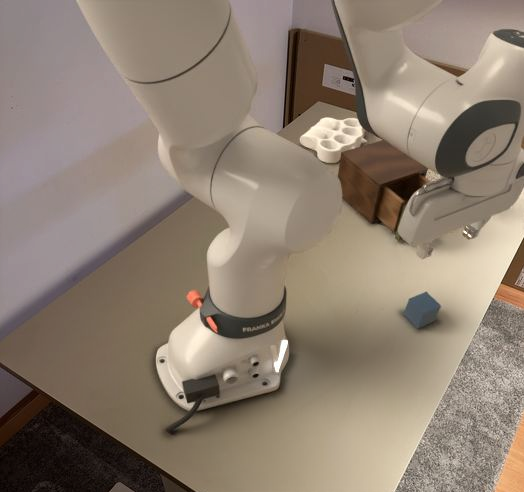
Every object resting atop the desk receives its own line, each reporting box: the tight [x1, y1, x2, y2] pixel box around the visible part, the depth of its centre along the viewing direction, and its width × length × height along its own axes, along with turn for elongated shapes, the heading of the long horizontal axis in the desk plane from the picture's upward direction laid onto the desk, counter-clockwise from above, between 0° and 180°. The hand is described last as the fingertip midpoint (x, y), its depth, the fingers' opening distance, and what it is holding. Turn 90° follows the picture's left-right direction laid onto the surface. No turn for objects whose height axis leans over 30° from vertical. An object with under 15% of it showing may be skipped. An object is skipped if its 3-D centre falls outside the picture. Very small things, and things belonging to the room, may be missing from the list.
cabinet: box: [337, 139, 429, 224], centre depth 110 cm, size 14×13×10 cm
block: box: [403, 291, 442, 330], centre depth 90 cm, size 4×4×4 cm
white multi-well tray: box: [299, 117, 368, 164], centre depth 127 cm, size 3×18×15 cm
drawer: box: [375, 174, 432, 242], centre depth 104 cm, size 17×11×8 cm
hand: (446, 245), depth 79 cm, fingers open, 8 cm apart
